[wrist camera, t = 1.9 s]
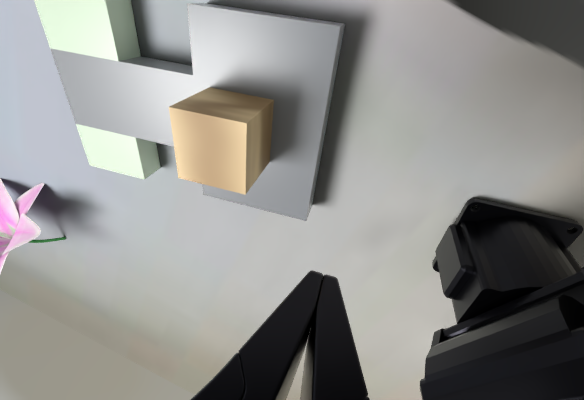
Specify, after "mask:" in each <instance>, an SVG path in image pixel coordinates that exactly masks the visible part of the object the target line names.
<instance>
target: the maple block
mask: <svg viewBox="0 0 584 400" xmlns="http://www.w3.org/2000/svg"><path fill="white" fill-rule="evenodd" d="M273 106H274V100H272V99H267V98H262V97H257V96H251V95H246V94H241V93H236V92H231V91H226V90H221V89H215V88H210V87H209V88H207V89H205V90H203V91H201V92H198V93H196V94H194V95H192V96H190V97H188V98H186V99H184V100H182V101H180V102H178V103H176V104H174V105H171V106H169V114H170V121H171V128H172V135H173V142H174V149H175V156H176V164H177V171H178V178H181V179H185V180H189V181H193V182H197V183H201V184H205V185H209V186H213V187H217V188H221V189H225V190H229V191H233V192H237V193H241V194H245V195H246V193H247V192H248V191H249V189H250V188H251V187H252V185H253V184H254V183H255V181H256V180H257V178H258V177H259V176H260V174H261V173H262V172H263V170H264V169H265V168H266V166H267V165H268V164H269V162H270V149H271V135H272V120H273Z"/></svg>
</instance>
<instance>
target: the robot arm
mask: <svg viewBox="0 0 584 400" xmlns="http://www.w3.org/2000/svg"><path fill="white" fill-rule="evenodd" d="M474 205H478V207H477V208H471V207H472V206H474ZM572 227H574V228H572ZM569 228H572V229H570V230H568V229H569ZM582 231H583V228H582V226H581V225H580V224H579V223H578V222H577V221H575V220H570V219H566V218H562V217H557V216H553V215H548V214H544V213H539V212H535V211H530V210H526V209H521V208H517V207H512V206H508V205H503V204H499V203H495V202H490V201H486V200H481V199H470V200H469V201H467V202H466V204H465V205H464V207H463V209H462V211H461V213H460V214H459V216H458V218H457V220H456V221H455V223H454V224H452V225H450V226H449V227H448V229H447V231H446V233H445V234H444V236H443V238H442V240H441V242H440V243H439V245H438V247H437V249H436V257H435V259H434V260H433V263H432V264H433V269H434V270H435V271H437V272H439V273H440V278H441V283H442V289H443V293H444V295H445V296H446V297H447V298H451V299H452V302H453V307H454V312H455V317H456V321H457V325H454V326H452V327H450V328H447V329H440V330H438V331H435V332H434V336H433V341H432V345H431V349H430V351H429V353H428V355H427V357H426V364H425V378H424V379H421V381H420V391H421V396H422V400H584V267H583V268H581V267H580V266H579V264H578V263H577V261H576V260H575V259H574V257H573V256H572V254H571V253H570V252H569V250H568V249H567V248H568V247H569V246H570V245H571V244H572V243H573V241H574V240H575V239H576V238H577V237H578V236H579V235H580V234H581V233H582ZM309 332H310V333H309ZM308 336H309V337H308ZM307 340H308V342H307ZM306 343H307V347H306V354H305V363H304V371H303V380H302V388H301V397H300V400H370V399H369V397H367V395H368V392H367V389H366V385H365V381H364V377H363V373H362V370H361V366H360V362H359V358H358V355H357V351H356V347H355V343H354V339H353V336H352V332H351V328H350V324H349V320H348V317H347V313H346V309H345V305H344V301H343V298H342V294H341V290H340V286H339V283H338V279H337V278H336V277H333V276H330V275H324V276H323V274H322V273H319V272H316V271H310V272H309V273H308V274H307V275H306V276H305V277H304V278H303V279H302V280H301V282H300V283H299V284H298V285H297V286H296V287H295V288H294V289H293V290H292V292H291V293H290V294H289V295H288V296H287V297H286V298H285V299H284V301H283V302H282V303H281V304H280V305H279V306H278V307H277V308H276V310H275V311H274V312H273V313H272V314H271V315H270V316H269V317H268V318H267V320H266V321H265V322H264V323H263V324H262V325H261V326H260V327H259V329H258V330H257V331H256V332H255V333H254V334H253V335H252V336H251V338H250V339H249V340H248V341H247V342H246V343H245V344H244V345H243V347H242V348H241V349H240V350H239V353H236V354H235V355H234V356H233V357H232V359H231V360H230V361H229V362H228V363H227V364H226V365H225V366H224V367H223V368H222V369H221V371H220V372H219V373H218V374H217V375H216V376H215V377H214V378H213V379H212V380H211V381H210V382H209V383H208V384H207V385H206V386H205V387H204V388H202V389H201V390H200V391H199V392H198V393H197V394H196V395H195V396H194V397H193V398H192V399H191V400H286V398H287V395H288V393H289V390H290V387H291V385H292V382H293V379H294V376H295V374H296V371H297V368H298V366H299V363H300V360H301V358H302V355H303V352H304V349H305V346H306Z"/></svg>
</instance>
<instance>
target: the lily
mask: <svg viewBox="0 0 584 400" xmlns="http://www.w3.org/2000/svg"><path fill="white" fill-rule="evenodd" d="M43 186H44V183H41V184H38V185H36V186H35V187H33V188H31V189H30V190H28V191H27V192H25V193H24V194H22V195H21V196H20V197H19V198H18V199H17V200H16V201H15V202H13V200H12V198H11V197H10V195H9V193H8V192H7V190H6V188H5V186H4V184H3V182H2V180H1V179H0V273H1V270H2V268H3V265H4V262H5V260H6V257H7V255H8V253H9V251H10V250H12V249H14V248H16V247H18V246H21V245H23V244H25V243H27V242H28V243H42V242H51V241H58V240H65V239H66V238H65V237H62V238H55V239H46V240H33V239H35V238H37V237H38V236H39V235H40V234H41V229H40V228H39V227H38V225H36V224H35V223H34V222H33V221H32V220H31V219H29V218H28V217H27V216H26V214H27V212H28V211H29V209H30V207H31V205H32V204H33V202H34V200H35V199H36V197H37V195H38V194H39V192H40V190H41V189H42V187H43Z"/></svg>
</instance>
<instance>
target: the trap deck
mask: <svg viewBox="0 0 584 400" xmlns="http://www.w3.org/2000/svg"><path fill="white" fill-rule="evenodd" d="M34 1H35V4H36V7H37V10H38V13H39V16H40V19H41V22H42V25H43V28H44V31H45V34H46V37H47V40H48V43H49V46H50V49H51V52H52V55H53V58H54V61H55V64H56V67H57V70H58V72H59V75H60V78H61V81H62V84H63V87H64V90H65V93H66V96H67V99H68V102H69V105H70V108H71V111H72V114H73V117H74V120H75V123H76V126H77V129H78V132H79V135H80V138H81V141H82V144H83V147H84V150H85V153H86V155H87V158H88V161H89V164H90V166H94V167H98V168H102V169H106V170H110V171H114V172H117V173H121V174H125V175H129V176H133V177H137V178H141V179H146V178H147V177H149V176H150V175H151V174H153V173H154V172H156V171H157V170H158V169H160V168H161V167H160V162H159V156H158V150H157V145H156V143H161V144H165V145H169V146H173V147H174V142H173V135H172V128H171V121H170V114H169V106H171V105H174V104H176V103H178V102H180V101H182V100H184V99H186V98H188V97H190V96H192V95H194V94H196V93H198V92H201V91H203V90H205V89H207V88H209V87H210V88H215V89H221V90H226V91H231V92H236V93H241V94H246V95H251V96H257V97H262V98H267V99H272V100H274V106H273V120H272V135H271V149H270V162H269V164H268V165H267V166H266V168H265V169H264V170H263V172H262V173H261V174H260V176H259V177H258V178H257V180H256V181H255V183H254V184H253V185H252V187H251V188H250V189H249V191H248V192H247V193H246V195H245V194H241V193H237V192H233V191H229V190H225V189H221V188H217V187H213V186H209V185H205V184H202V185H203V195H207V196H211V197H215V198H219V199H223V200H227V201H230V202H234V203H238V204H242V205H246V206H250V207H254V208H258V209H262V210H265V211H269V212H273V213H277V214H281V215H285V216H289V217H293V218H297V219H300V220H304V221H306V220H307V217H308V215H309V212H310V209H311V207H312V203H313V197H314V192H315V186H316V181H317V175H318V170H319V164H320V159H321V153H322V148H323V143H324V137H325V132H326V126H327V121H328V115H329V110H330V104H331V99H332V93H333V88H334V82H335V77H336V72H337V66H338V61H339V55H340V50H341V44H342V39H343V33H344V28H345V24H344V23H337V22H330V21H323V20H316V19H310V18H303V17H296V16H289V15H282V14H275V13H269V12H262V11H255V10H248V9H241V8H234V7H228V6H221V5H214V4H207V3H196V4H187V10H188V22H189V34H190V45H191V57H192V66H190V65H185V64H180V63H174V62H169V61H163V60H158V59H152V58H147V57H141V55H140V49H139V44H138V38H137V32H136V27H135V21H134V15H133V10H132V4H131V0H34Z"/></svg>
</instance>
